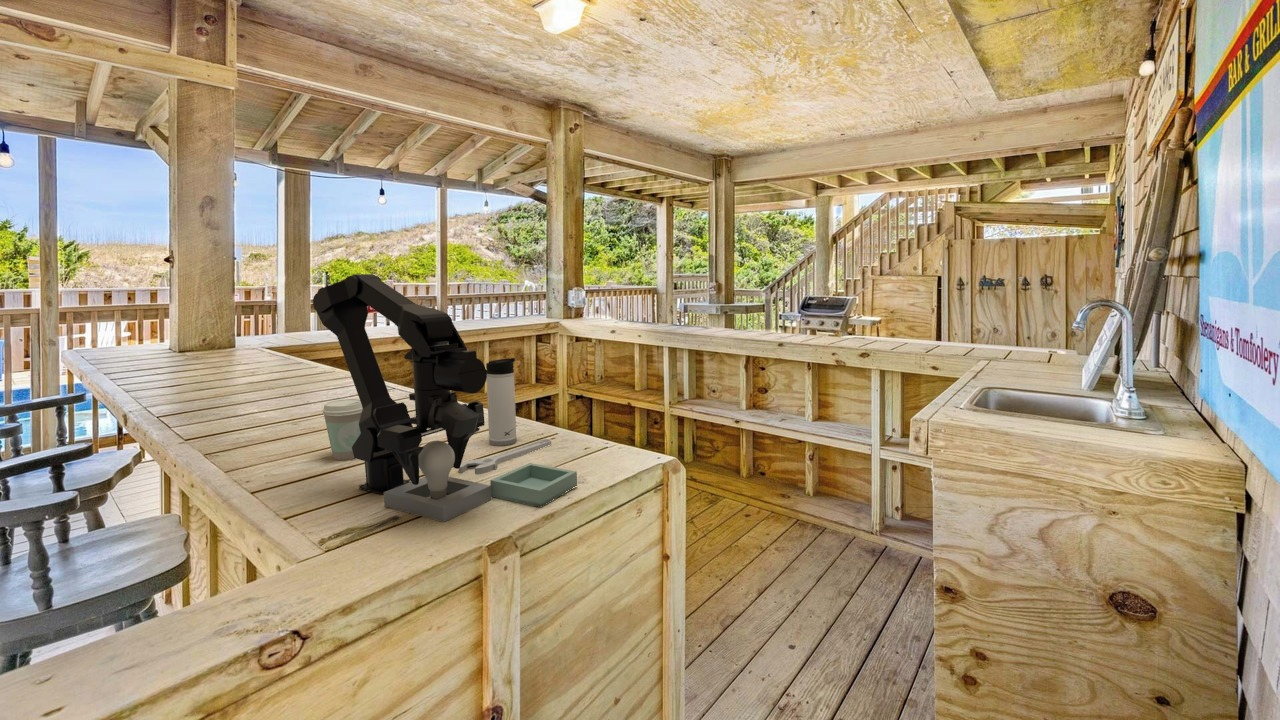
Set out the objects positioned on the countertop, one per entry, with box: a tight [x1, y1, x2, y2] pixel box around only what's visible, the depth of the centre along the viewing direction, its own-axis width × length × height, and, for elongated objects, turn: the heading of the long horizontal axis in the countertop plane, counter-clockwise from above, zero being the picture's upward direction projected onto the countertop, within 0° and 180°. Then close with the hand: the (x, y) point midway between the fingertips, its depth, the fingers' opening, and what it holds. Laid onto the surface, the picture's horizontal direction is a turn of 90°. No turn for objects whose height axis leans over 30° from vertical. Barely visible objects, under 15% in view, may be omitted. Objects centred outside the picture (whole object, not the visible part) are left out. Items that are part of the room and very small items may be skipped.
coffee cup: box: [321, 398, 363, 461], centre depth 129 cm, size 9×8×12 cm
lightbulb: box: [418, 440, 455, 500], centre depth 102 cm, size 6×6×11 cm
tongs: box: [317, 515, 402, 551], centre depth 92 cm, size 4×13×2 cm, turn 150°
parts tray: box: [489, 462, 578, 508], centre depth 108 cm, size 11×11×3 cm
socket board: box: [383, 475, 492, 523], centre depth 103 cm, size 14×11×2 cm
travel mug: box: [485, 357, 517, 447], centre depth 138 cm, size 6×7×20 cm
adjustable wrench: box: [458, 438, 552, 475], centre depth 128 cm, size 25×6×2 cm, turn 142°
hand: (436, 476), depth 102 cm, fingers open, 9 cm apart
